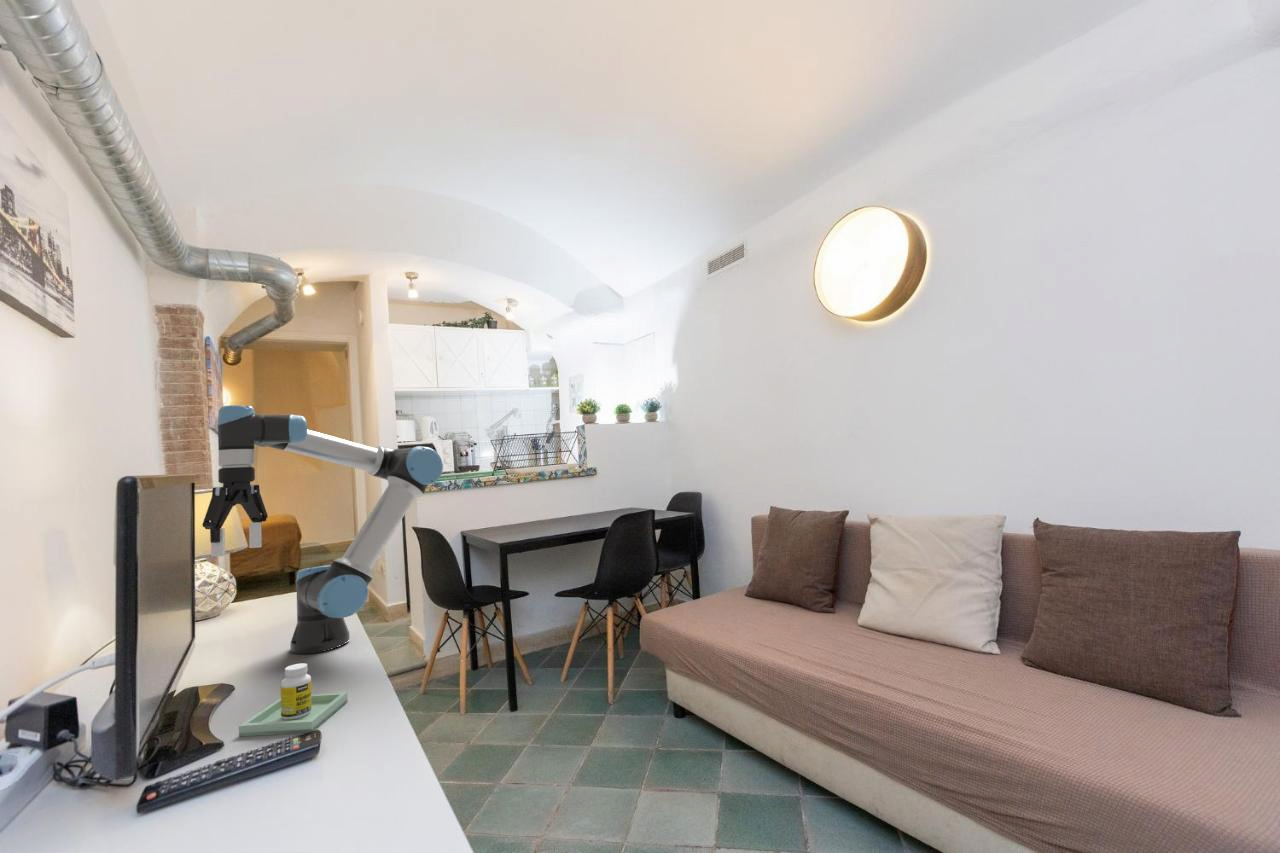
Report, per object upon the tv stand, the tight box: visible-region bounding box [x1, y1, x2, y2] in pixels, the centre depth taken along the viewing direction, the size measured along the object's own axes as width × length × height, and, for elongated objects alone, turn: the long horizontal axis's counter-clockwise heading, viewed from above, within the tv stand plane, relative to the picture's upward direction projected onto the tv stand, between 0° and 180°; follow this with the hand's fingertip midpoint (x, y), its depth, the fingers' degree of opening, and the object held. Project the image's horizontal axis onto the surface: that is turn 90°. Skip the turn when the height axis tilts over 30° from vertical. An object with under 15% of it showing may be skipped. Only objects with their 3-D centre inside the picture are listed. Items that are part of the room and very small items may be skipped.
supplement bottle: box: [280, 662, 312, 720], centre depth 118 cm, size 5×5×10 cm
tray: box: [238, 692, 349, 738], centre depth 118 cm, size 14×14×2 cm
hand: (237, 551), depth 143 cm, fingers open, 13 cm apart
